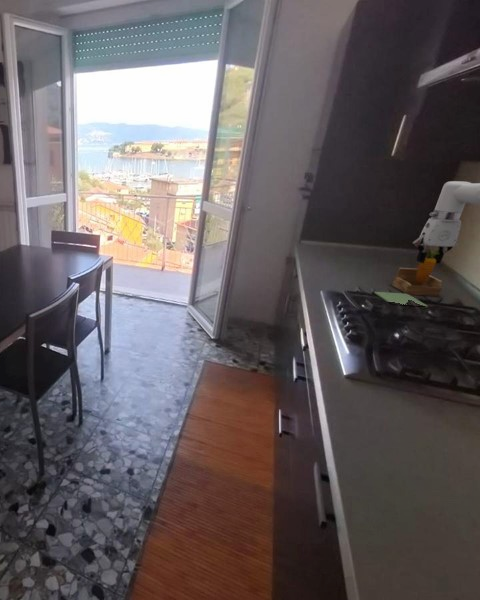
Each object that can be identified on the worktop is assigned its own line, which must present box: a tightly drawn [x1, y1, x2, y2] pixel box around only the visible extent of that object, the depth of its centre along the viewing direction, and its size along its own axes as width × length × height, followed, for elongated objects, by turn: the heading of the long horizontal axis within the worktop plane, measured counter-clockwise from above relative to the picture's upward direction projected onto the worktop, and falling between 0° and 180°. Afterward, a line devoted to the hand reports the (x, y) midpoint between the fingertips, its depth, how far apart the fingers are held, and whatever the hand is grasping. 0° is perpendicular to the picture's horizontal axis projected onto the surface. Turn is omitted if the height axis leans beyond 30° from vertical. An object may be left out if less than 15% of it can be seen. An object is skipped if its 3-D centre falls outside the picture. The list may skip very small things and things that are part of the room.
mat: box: [373, 291, 429, 309], centre depth 138 cm, size 12×12×1 cm
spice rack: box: [391, 267, 443, 297], centre depth 145 cm, size 10×11×8 cm
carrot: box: [416, 248, 439, 285], centre depth 142 cm, size 5×5×15 cm
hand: (428, 261), depth 141 cm, fingers closed on carrot, 4 cm apart
